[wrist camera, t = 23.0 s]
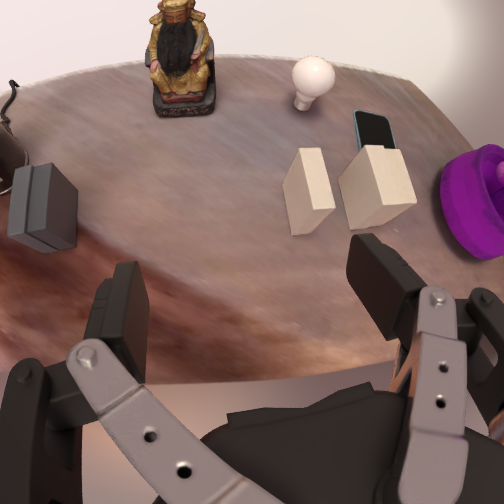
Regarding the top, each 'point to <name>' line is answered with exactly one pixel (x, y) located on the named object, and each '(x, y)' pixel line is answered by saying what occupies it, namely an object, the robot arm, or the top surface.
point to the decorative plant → (476, 200)
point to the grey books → (43, 209)
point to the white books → (375, 187)
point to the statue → (181, 61)
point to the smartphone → (373, 130)
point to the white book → (307, 191)
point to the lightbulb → (311, 80)
